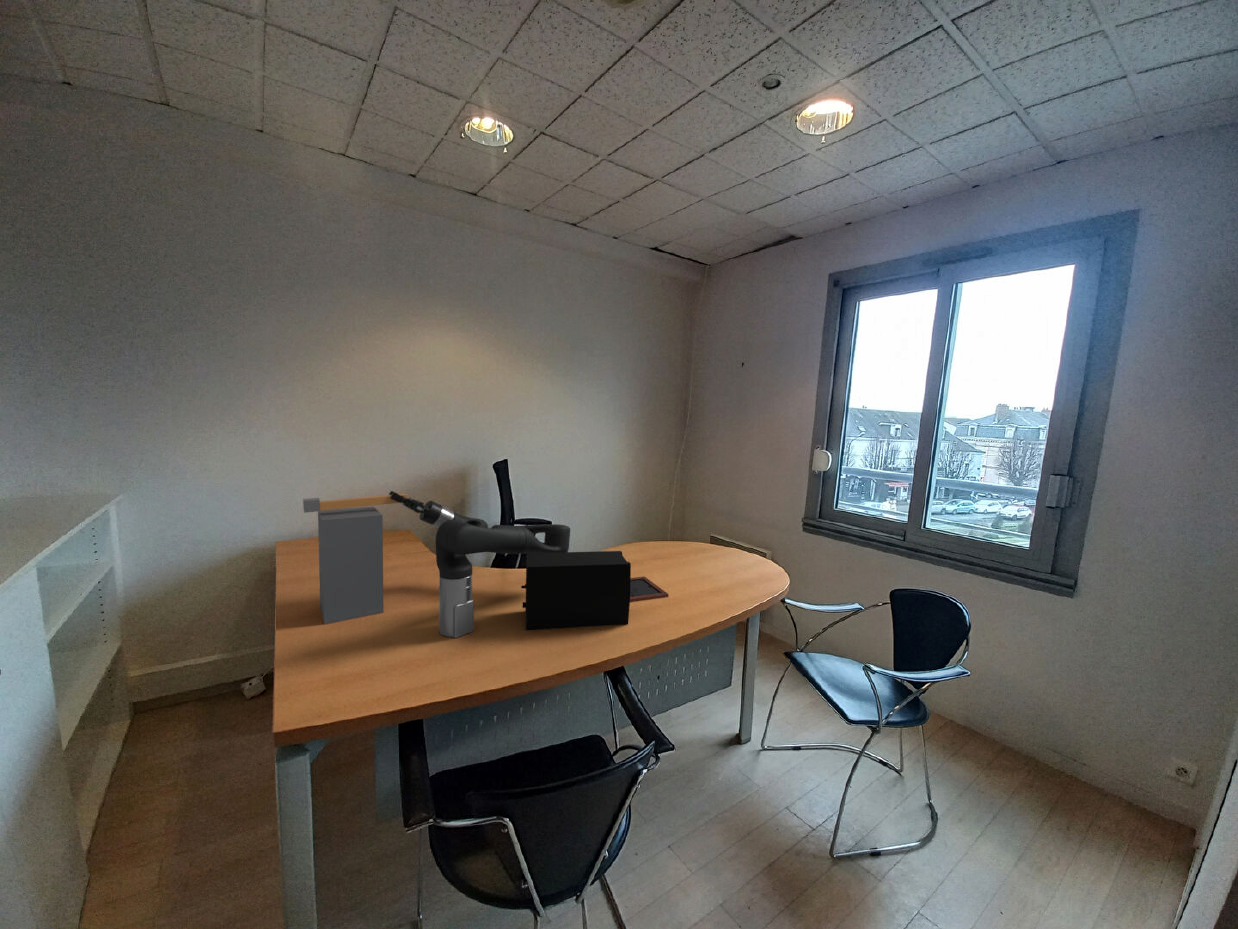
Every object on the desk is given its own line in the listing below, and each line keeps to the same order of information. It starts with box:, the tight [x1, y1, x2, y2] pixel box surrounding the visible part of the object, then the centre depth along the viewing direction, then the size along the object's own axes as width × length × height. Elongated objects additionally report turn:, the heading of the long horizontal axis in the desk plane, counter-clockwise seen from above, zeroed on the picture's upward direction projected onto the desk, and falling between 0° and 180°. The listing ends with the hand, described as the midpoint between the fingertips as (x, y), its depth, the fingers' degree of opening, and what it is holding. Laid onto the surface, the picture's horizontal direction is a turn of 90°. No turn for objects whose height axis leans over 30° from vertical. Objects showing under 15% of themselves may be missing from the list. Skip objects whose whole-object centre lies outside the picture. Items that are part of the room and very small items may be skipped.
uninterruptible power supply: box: [520, 550, 632, 632], centre depth 146 cm, size 16×34×20 cm, turn 102°
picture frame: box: [630, 576, 669, 603], centre depth 172 cm, size 20×2×25 cm
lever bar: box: [302, 492, 409, 514], centre depth 145 cm, size 29×4×4 cm, turn 127°
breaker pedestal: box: [317, 505, 385, 625], centre depth 145 cm, size 16×16×32 cm
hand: (390, 494), depth 150 cm, fingers closed on lever bar, 3 cm apart
